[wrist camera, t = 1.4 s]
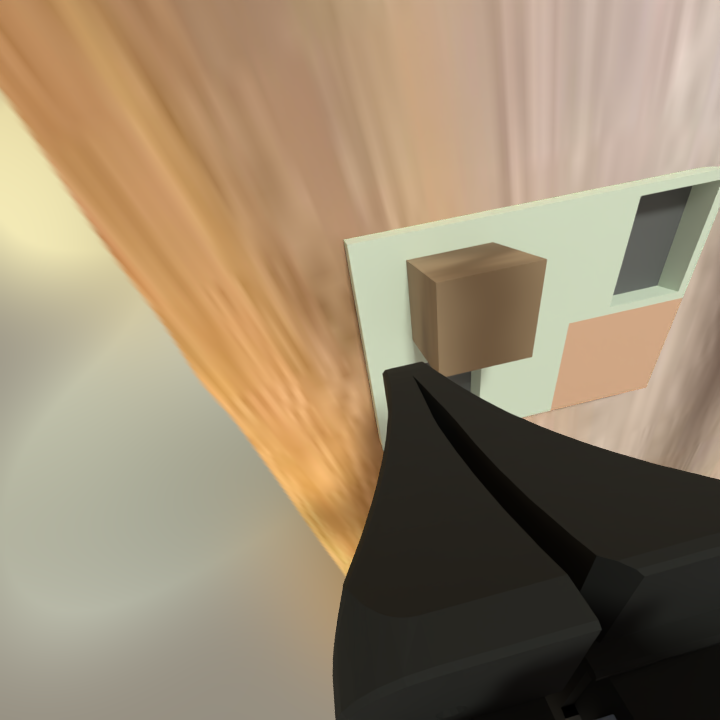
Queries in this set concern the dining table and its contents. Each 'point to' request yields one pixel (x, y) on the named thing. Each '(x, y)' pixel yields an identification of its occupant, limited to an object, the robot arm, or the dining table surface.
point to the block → (475, 306)
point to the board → (553, 288)
